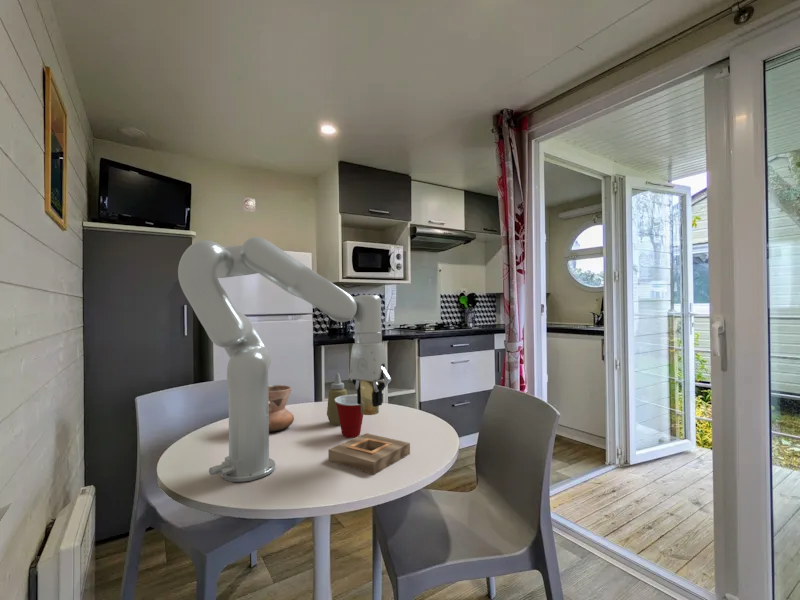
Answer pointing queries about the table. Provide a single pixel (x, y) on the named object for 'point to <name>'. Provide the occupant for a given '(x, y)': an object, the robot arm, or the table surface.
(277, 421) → the ceramic jug
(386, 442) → the walnut plate
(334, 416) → the squeeze bottle
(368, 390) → the brass peg
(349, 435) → the plastic cup
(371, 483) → the table surface
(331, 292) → the robot arm
